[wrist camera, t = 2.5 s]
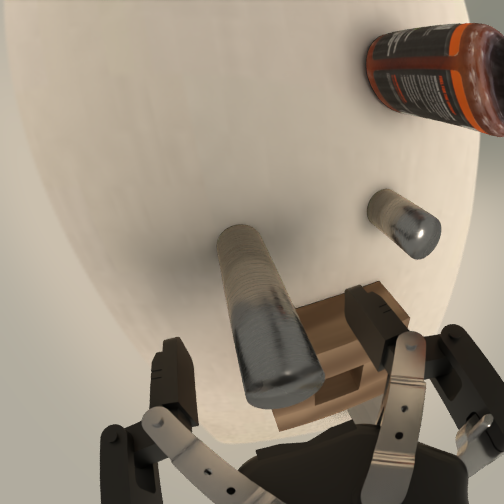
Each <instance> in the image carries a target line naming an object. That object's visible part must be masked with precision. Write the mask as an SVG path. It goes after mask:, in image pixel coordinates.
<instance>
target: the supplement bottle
mask: <svg viewBox="0 0 504 504" xmlns="http://www.w3.org/2000/svg"><path fill="white" fill-rule="evenodd" d="M366 67H367V75H368V79H369V82H370V84H371V86H372V88H373V90H374V92H375V93H376V95H377V96H378V98H379V99H380V100H381V101H382V102H383V103H384V104H385V105H386V106H387V107H389V108H390V109H392V110H394V111H397V112H400V113H404V114H408V115H413V116H418V117H423V118H428V119H432V120H437V121H441V122H446V123H449V124H454V125H457V126H461V127H465V128H468V129H472V130H475V131H479V132H482V133H486V134H489V135H492V136H497V137H504V36H503V35H502V34H501V33H500V32H499V31H497V30H496V29H495V28H493V27H491V26H489V25H485V24H478V23H465V24H460V23H459V24H447V25H437V26H428V27H421V28H414V29H407V30H402V31H397V32H392V33H388V34H385V35H382V36H380V37H379V38H377V39H376V40H375V41H374V42H373V43H372V45H371V46H370V48H369V50H368V54H367V60H366Z"/></svg>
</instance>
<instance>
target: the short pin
mask: <svg viewBox="0 0 504 504" xmlns="http://www.w3.org/2000/svg"><path fill="white" fill-rule="evenodd" d="M367 215H368V219H369V221H370V222H371V223H372V224H373V225H374V226H376V227H377V228H378V229H379V230H380V231H382V232H383V233H384V234H385V235H386V236H388V237H389V238H390V239H391V240H392V241H393V242H395V243H396V244H397V245H398V246H399V247H400V248H401V249H403V250H404V251H405V252H406V253H407V254H408V255H409V256H410V257H412V258H413V259H417V260H418V259H422V258H425V257H426V256H428V255H429V254H430V253H431V252H432V251H433V250H434V248H435V247H436V245H437V244H438V241H439V239H440V235H441V224H440V222H439V220H438V219H437V218H436V217H434V216H433V215H431V214H430V213H428V212H426V211H425V210H423V209H422V208H420V207H419V206H417V205H415V204H414V203H412V202H411V201H409V200H407V199H406V198H404V197H402V196H401V195H399V194H397V193H396V192H394V191H392V190H390V189H383V190H380V191H378V192H377V193H375V194H374V196H373V197H372V198H371V200H370V202H369V204H368V208H367Z"/></svg>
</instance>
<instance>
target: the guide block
mask: <svg viewBox="0 0 504 504" xmlns="http://www.w3.org/2000/svg"><path fill="white" fill-rule="evenodd" d="M363 288H364V289H365V291H366V292H367V293H369V292H372V291H373V292H374V293H376V294H378V295H380V296H381V297H382V298H383V299H384V300H385V302H386V303H387V305H389V306H390V308H391V309H392V310H393V311H394V312H395V314H396V315H397V316H398V317H399V318H400V320H401V321H402V322H403V323H404V325H405V326H406V327H407V328H408V324H409V320H410V317H409V316H408V314H407V313H406V312H405V311H404V309H403V308H402V307H401V306H400V305H399V303H398V302H397V301H396V300H395V299H394V298H393V296H392V295H391V294H390V293H389V292H388V291H387V289H386V288H385V287H384V286H383V285H382V284H381V282H380V281H378V282H375V283H373V284H370V285H367V286H364V287H363ZM344 308H345V293H344V294H341V295H338V296H335V297H332V298H329V299H325V300H322V301H319V302H316V303H313V304H310V305H306V306H303V307H300V308H297V309H295V310H296V312H297V314H298V316H299V318H300V321H301V323H302V325H303V327H304V329H305V331H306V334H307V336H308V338H309V340H310V342H311V344H312V347H313V349H314V351H315V353H316V355H317V358H318V360H319V362H320V364H321V366H322V369H323V371H324V373H325V381H324V383H323V385H322V387H321V388H320V389H319V390H318V391H317V392H316V393H315V394H314V395H312V396H311V397H309V398H308V399H306V400H304V401H302V402H300V403H298V404H295V405H292V406H289V407H285V408H280V409H272V412H273V415H274V417H275V420H276V423H277V426H278V429H279V432H280V431H284V430H287V429H291V428H294V427H297V426H301V425H304V424H307V423H310V422H313V421H316V420H319V419H322V418H325V417H328V416H331V415H333V414H336V413H339V412H341V411H344V410H346V409H349V408H352V407H354V406H356V405H359V404H361V403H364V402H366V401H368V400H371V399H373V398H375V397H377V396H380V395H382V394H383V393H384V388H385V384H386V379H387V374H388V373H387V371H386V370H385V369H384V370H382V371H379V372H378V371H377V370H376V368H375V367H374V365H373V363H372V362H371V360H370V358H369V357H368V355H367V354H366V352H365V350H364V349H363V347H362V346H361V344H360V342H359V341H358V339H357V338H356V336H355V334H354V333H353V331H352V330H351V328H350V326H349V325H348V323H347V321H346V318H345V313H344Z"/></svg>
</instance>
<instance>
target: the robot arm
mask: <svg viewBox="0 0 504 504" xmlns="http://www.w3.org/2000/svg"><path fill="white" fill-rule="evenodd" d="M344 313H345V318H346V321H347V323H348V325H349V326H350V328H351V330H352V331H353V333H354V334H355V336H356V338H357V339H358V341H359V342H360V344H361V346H362V347H363V349H364V350H365V352H366V354H367V355H368V357H369V358H370V360H371V362H372V363H373V365H374V367H375V368H376V370H377V371H378V372H379V371H382V370H384V369H385V370H386V371H387V373H388V374H387V379H386V384H385V388H384V393H383V398H382V402H381V406H380V410H379V413H378V416H377V420H376V423H375V424H365V423H363V424H355V423H354V421H353V419H352V420H349V421H347V422H344V423H342V424H339V425H337V426H334V427H331V428H329V429H328V430H326V431H324V432H323V433H321V434H320V435H318V436H316V437H315V438H313V439H312V440H310V441H308V442H303V443H287V444H278V445H274V446H270V447H266V448H262V449H258V450H256V454H257V456H255V457H253V458H251V459H249V460H248V461H247V462H245V463H244V464H243V465H242V466H241V467H240V468H239V469H238V470H236V469H235V468H233V467H232V466H231V465H230V464H228V463H227V462H226V461H225V460H223V459H222V458H221V457H220V456H218V455H217V454H216V453H215V452H214V451H212V450H211V449H210V448H209V447H208V446H207V445H205V444H204V443H203V442H202V441H201V440H199V439H198V438H197V437H196V436H195V435H194V434H193V433H192V427H194V426H199V423H198V413H197V402H196V390H195V377H194V366H193V362H192V359H191V357H190V355H189V353H188V351H187V349H186V348H185V346H184V344H183V342H182V340H181V339H180V337H175V338H171V339H166V340H164V341H163V352H158V353H156V355H155V357H154V359H153V361H152V367H151V372H152V373H151V384H150V407H149V410H148V411H147V412H146V413H145V414H144V415H143V418H142V420H141V421H140V422H138V423H136V424H134V425H131V426H129V427H126V428H123V427H122V426H120V425H117V424H114V425H110V426H108V427H107V428H105V429H104V431H103V432H102V434H101V440H100V489H101V490H100V491H101V504H163V500H162V493H161V486H160V478H159V470H158V462H159V461H161V460H163V459H166V458H168V457H169V458H170V459H171V462H172V464H173V465H174V466H175V467H176V468H177V469H178V470H179V471H180V472H181V473H182V474H183V475H184V476H185V477H186V478H187V479H188V480H189V481H190V482H191V483H192V484H193V485H194V486H195V487H197V488H198V489H199V490H200V491H201V492H202V493H203V494H204V495H205V496H207V497H208V498H209V499H210V500H211V501H212V502H214V503H215V504H469V502H468V492H467V491H468V478H469V477H471V476H472V475H474V474H475V473H476V472H478V471H479V470H480V469H482V468H483V467H485V466H486V465H488V464H490V463H491V462H493V461H495V460H496V459H497V458H499V457H500V456H502V455H503V454H504V382H503V381H502V379H501V378H500V376H499V375H498V374H497V372H496V371H495V369H494V368H493V366H492V365H491V364H490V362H489V361H488V359H487V358H486V357H485V355H484V354H483V353H482V351H481V350H480V349H479V347H478V346H477V345H476V344H475V342H474V341H473V340H472V338H471V337H470V336H469V335H468V334H467V332H466V331H465V330H464V329H463V328H462V327H460V326H459V325H455V324H450V325H447V326H445V327H444V328H443V329H442V331H441V334H438V335H432V336H426V337H423V336H422V335H421V334H419V333H417V332H414V331H409V330H408V328H407V327H406V326H405V325H404V323H403V322H402V321H401V320H400V318H399V317H398V316H397V315H396V314H395V312H394V311H393V310H392V309H391V308H390V306H389V305H387V303H386V302H385V300H384V299H383V298H382V297H381V296H380V295H378V294H376V293H374V292H373V291H372V292H369V293H367V292H366V291H365V289H364V288H363V287H362V286H361V285H357V286H354V287H351V288H348V289H346V290H345V308H344ZM425 379H430V380H431V382H432V383H433V385H434V387H435V388H436V390H437V392H438V393H439V395H440V397H441V399H442V400H443V402H444V404H445V406H446V407H447V409H448V411H449V413H450V415H451V416H452V418H453V420H454V422H455V424H456V426H457V428H458V429H459V431H458V432H457V435H456V446H457V449H458V452H457V456H456V455H453V454H451V453H448V452H445V451H442V450H439V449H437V448H434V447H431V446H428V445H425V444H423V443H420V442H418V438H419V432H420V427H421V421H422V415H423V407H424V400H425V392H426V382H424V380H425Z"/></svg>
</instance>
